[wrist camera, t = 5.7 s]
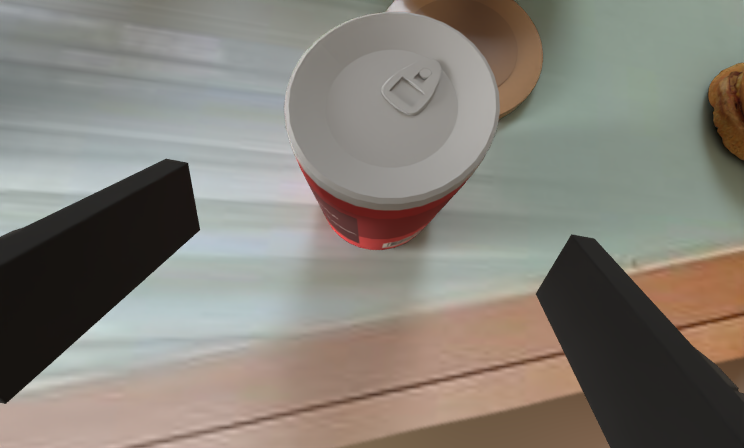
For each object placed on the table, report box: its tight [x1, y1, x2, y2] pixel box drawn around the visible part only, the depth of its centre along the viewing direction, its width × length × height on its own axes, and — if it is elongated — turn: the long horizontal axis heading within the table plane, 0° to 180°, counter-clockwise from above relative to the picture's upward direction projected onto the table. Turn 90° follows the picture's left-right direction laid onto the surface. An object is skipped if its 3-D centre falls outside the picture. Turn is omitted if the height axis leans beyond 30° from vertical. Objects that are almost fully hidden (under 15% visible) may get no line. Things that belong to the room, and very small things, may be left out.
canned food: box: [284, 12, 500, 250], centre depth 16 cm, size 8×8×11 cm
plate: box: [386, 0, 543, 119], centre depth 24 cm, size 13×13×1 cm
